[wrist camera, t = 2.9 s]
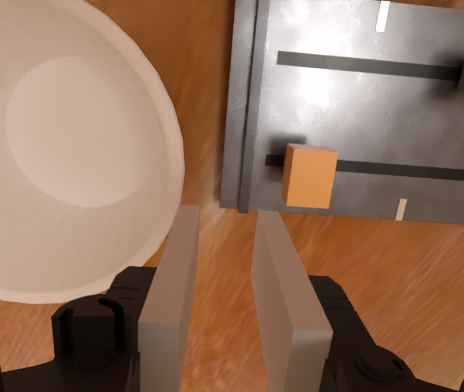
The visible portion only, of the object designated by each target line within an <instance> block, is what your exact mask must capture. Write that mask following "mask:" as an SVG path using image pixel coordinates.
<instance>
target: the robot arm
mask: <svg viewBox="0 0 464 392" xmlns="http://www.w3.org/2000/svg"><path fill="white" fill-rule="evenodd" d="M199 221H200V206H193V205H179V208H178V210H177V213H176V216H175V219H174V222H173V225H172V227H171V230H170V233H169V236H168V239H167V242H166V244H165V247H164V250H163V253H162V256H161V258H160V261H159V264H158V267H140V266H128V267H127V268H125V269H124V270H123V271H121V272H120V273H118V274H117V275H116V276H115V278H114V280H113V282H112V283H111V285H110V289H108V291H107V292H106V294H96V295H87V296H83V297H80V298H77V299H74V300H71V301H70V302H68V303H66V304H65V305H63V306H61V307H59V309H58V310H57V311H56V312H55V313H54V314H53V315H52V316H51V319H52V331H53V342H54V354H55V357H54V359H53V360H51V361H49V362H47V363H44V364H40V365H36V366H32V367H27V368H22V369H17V370H12V371H7V372H1V367H0V392H180V390H181V383H182V375H183V368H184V361H185V353H186V346H187V338H188V331H189V323H190V316H191V309H192V301H193V294H194V286H195V279H196V271H197V254H198V237H199ZM251 280H252V287H253V293H254V299H255V306H256V312H257V319H258V325H259V332H260V338H261V345H262V351H263V357H264V364H265V370H266V377H267V383H268V390H269V392H464V380H463V382H462V384H461V386H460V389H459V391H456V390H453V389H449V388H446V387H442V386H439V385H436V384H432V383H429V382H425V381H422V380H420V379H417V378H415V377H414V375H413V373H412V371H411V370H410V369H409V367H408V366H407V365H406V363H405V362H404V361H403V360H402V359H400V358H399V357H398V356H396V355H395V354H394V353H393V352H391V351H389V350H387V349H384V348H382V347H380V346H378V345H376V344H375V342H374V341H373V339H372V337H371V336H370V334H369V332H368V331H367V329H366V327H365V326H364V324H363V322H362V321H361V319H360V317H359V316H358V314H357V312H356V311H354V307H353V306H352V304H351V302H350V301H348V297H347V296H346V294H345V292H344V291H343V289H342V287H341V286H340V285H338V284H337V283H336V282H335V281H333V280H332V279H331V278H330V277H328V276H314V275H307V273H306V271H305V269H304V267H303V264H302V262H301V260H300V258H299V256H298V253H297V251H296V249H295V247H294V245H293V242H292V240H291V238H290V236H289V234H288V232H287V229H286V227H285V225H284V223H283V221H282V218H281V216H280V214H279V212H278V211H265V210H258V215H257V224H256V233H255V241H254V250H253V259H252V268H251Z"/></svg>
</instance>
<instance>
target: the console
mask: <svg viewBox="0 0 464 392" xmlns="http://www.w3.org/2000/svg"><path fill="white" fill-rule="evenodd" d="M463 66H464V10H459V9H450V8H440V7H430V6H421V5H411V4H401V3H392V2H386V1H372V0H235V10H234V23H233V36H232V49H231V62H230V75H229V88H228V101H227V114H226V127H225V140H224V153H223V166H222V179H221V192H220V208H233V209H238V212H239V213H248V210H265V211H278V212H291V213H305V214H320V215H334V216H348V217H363V218H377V219H392V220H401V221H402V220H406V221H421V222H435V223H450V224H464V91H458V90H457V88H458V85H459V81H460V77H461V73H462V70H463ZM288 143H290V144H303V145H315V146H328V147H330V148H331V149H333V150H335V151H337V152H338V158H337V164H336V169H335V175H334V180H333V186H332V192H331V197H330V203H329V208H328V209H325V208H311V207H297V206H286V204H285V202H284V201H283V199H282V197H281V189H282V181H283V177H282V171H283V164H284V156H285V148H287V144H288Z"/></svg>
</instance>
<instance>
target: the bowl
mask: <svg viewBox="0 0 464 392" xmlns="http://www.w3.org/2000/svg"><path fill="white" fill-rule="evenodd" d="M184 174H185V165H184V151H183V138H182V135H181V131H180V127H179V124H178V120H177V116H176V113H175V109H174V105H173V103H172V101H171V99H170V97H169V95H168V93H167V91H166V89H165V87H164V85H163V83H162V81H161V79H160V77H159V75H158V73H157V71H156V70H155V69H154V67H153V66H152V64H151V63H150V62H149V60H148V59H147V58H146V56H145V55H144V54H143V52H142V51H141V49H140V48H139V47H138V45H137V44H136V43H135V42H134V41H133V40H132V39H131V38H130V37H129V36H128V35H127V34H126V33H125V32H124V31H123V30H122V29H121V28H120V27H119V26H118V25H117V24H116V23H114V22H113V21H112V20H111V19H110V18H109V17H108V16H107V15H106V14H104V13H103V12H101V11H100V10H98V9H97V8H95V7H94V6H92V5H91V4H89V3H88V2H86V1H85V0H0V300H4V301H12V302H20V303H29V304H46V303H63V302H68V301H71V300H74V299H77V298H80V297H83V296H87V295H95V294H97V293H99V292H102V291H104V290H107V289H109V288H110V285H111V283H112V282H113V280H114V278H115V276H116V275H117V274H118V273H120V272H121V271H123V270H124V269H125V268H127V267H128V266H140V267H142V266H143V265H144V264H145V263H146V262H147V261H148V260H149V259H150V258H151V257H152V255H153V254H154V253H155V252H156V251H157V250H158V248H159V247H160V245H161V243H162V242H163V240H164V239H165V237H166V235H167V234H168V232H169V231H170V229H171V227H172V224H173V222H174V219H175V216H176V213H177V210H178V208H179V205H180V202H181V196H182V189H183V181H184Z"/></svg>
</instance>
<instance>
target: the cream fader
mask: <svg viewBox="0 0 464 392" xmlns="http://www.w3.org/2000/svg"><path fill="white" fill-rule="evenodd" d="M457 90H458V91H464V66H463V70H462V73H461V77H460V81H459V85H458V88H457Z"/></svg>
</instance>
